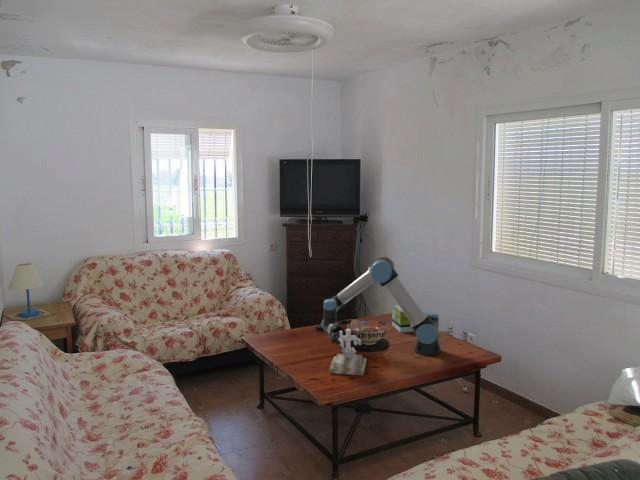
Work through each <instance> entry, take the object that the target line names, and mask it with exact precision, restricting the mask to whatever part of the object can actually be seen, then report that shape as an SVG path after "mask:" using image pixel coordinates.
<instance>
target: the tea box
mask: <svg viewBox="0 0 640 480" xmlns="http://www.w3.org/2000/svg"><path fill="white" fill-rule="evenodd" d="M391 310H392V312H391V316H392V317H391V319H392V321H391V326H392V327H393V328H395V330H397V332H399V333H402V334H403V333H412V332H414V330H413V329H412V327H411V322H410V320H409V319H408V318H407V316H406V315H405V313H404V312H403V311H402V309H401V308H400V307H399V305H398V304H397V305H392V307H391Z"/></svg>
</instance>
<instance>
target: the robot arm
mask: <svg viewBox="0 0 640 480" xmlns="http://www.w3.org/2000/svg"><path fill="white" fill-rule="evenodd" d="M374 282H375V283H376V282H377V283H378V285H380V287H381V288H384V289H386V290H387V292H388V293H389V294H390V296H391V297H392V299H393V300H394V301H395V302H396V304H397V305H399V307H400V308H401V309H402V311H403V312H404V313H405V315H406V316H407V318H408V319H409V320H410V322H411V327H412V329H413V330H414V331H413V332H414V333H415V337H416V341H415V345H414V352H415V353H417V354H418V355H422V356H437V355H439V354H441V353H442V352H441V350H442V349H441V345H440V342H439V325H440V324H439V321H440V316H439V314H438V313H436V312H426V311H424V312H423V311H422V310H421V308H420V307H419V305H418V304H417V303H416V301H415V300H414V298H413V297H412V295H411V294H410V293H409V292H408V290H407V288H405V286H404V285H403V284H402V282H401V281H400V279H399V273H397V271H396V270H395V265H394V262H393V261H392V260H391V258H389V257H386V256H381V257H378V258H377V259H376V261H374V263H373V264H372V265H370V266H369V267H368V270H366V271H365V272H364V273H363V274H362V275H360V276H359V277H358V278H356V279H355V280H354V281H352V283H350V284H348V286H346V287H344V289H342V290H340V292H339V293H337V294H336V295H334V296H332V297H331V298H327V299H324V301H323V318H322V320H321V323H320V325H321V328H322V329H323V330H324V332H326V333H327V334H328V339H329V340H330V341H331V344H335V345H339V346H341V348H344V347H345V341H342V340H341V339H340V331H343V336H345V335H346V330H345V329H344V328H343V327H342V325H340V324H338V323H337V312H338V311H339V310H340V309H341V308H342V307H343V306H345V305H346V304H347V303H348V302H350V301H351V300H353V299H354V298H355V297H356V296H357V295H359V294H360V293H362V292H363V291H364V290H365V289H367V288H369V286H371V285H372V284H373V283H374ZM351 335H356V336H357V345H359V346H362V340H361V335H360V334H358V333H356V332H353V331H352V330H351Z"/></svg>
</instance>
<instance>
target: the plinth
mask: <svg viewBox="0 0 640 480" xmlns="http://www.w3.org/2000/svg"><path fill="white" fill-rule="evenodd" d="M366 365H367V358H366V357H363V354H355V355H354V356H353V358H345V357H344V355H343V353H336V356H335V355H334V356H333V358H332V361H331V364H330V366H329V369H328V370H329V371H328V373H329V374H336V375H337V374H339V375H350V374H351V376H352V375H353V376H354V375H355V376H364V374H365V371H366V367H367V366H366Z"/></svg>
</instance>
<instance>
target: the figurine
mask: <svg viewBox="0 0 640 480" xmlns="http://www.w3.org/2000/svg"><path fill="white" fill-rule="evenodd" d="M345 331H346V335H345V336H343V331H340V339H341V340H342V341H343V342H345V346H344V347H340V349H341V352H342V354H343V355H344V357H345V358H353V356H354V355H356V352H357V350H356V349H355V347H353V346H351V345H352V343H351V342H352V341H353V344H354V346H357V345H358V344H357V336H356V335H351V331H352V329H350V328H346V329H345Z"/></svg>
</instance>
